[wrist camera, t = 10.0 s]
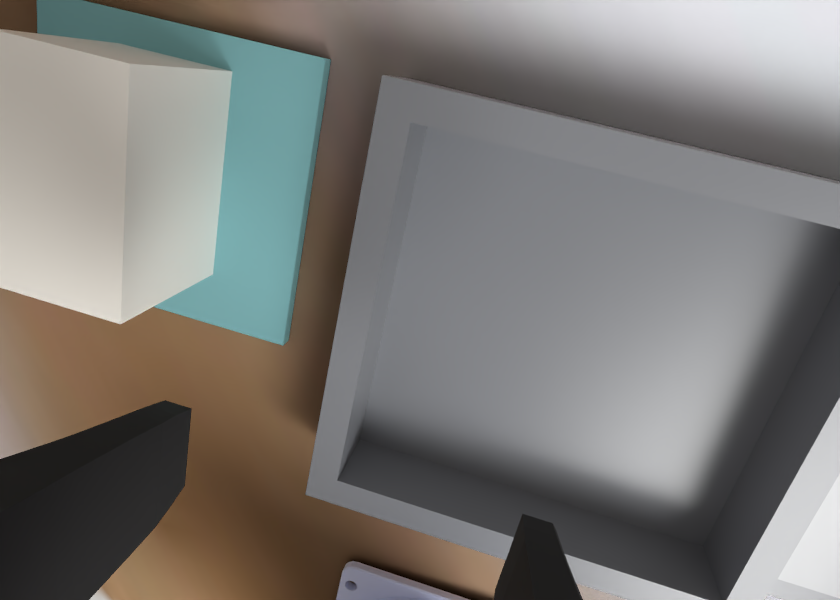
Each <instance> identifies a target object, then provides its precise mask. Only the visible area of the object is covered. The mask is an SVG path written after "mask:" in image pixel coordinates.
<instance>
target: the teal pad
mask: <svg viewBox="0 0 840 600" xmlns="http://www.w3.org/2000/svg"><path fill="white" fill-rule="evenodd" d="M37 33H38V34H46V35H55V36H63V37H71V38H79V39H88V40H96V41H104V42H113V43H120V44H124V45H128V46H132V47H136V48H140V49H144V50H148V51H152V52H156V53H160V54H164V55H168V56H172V57H176V58H180V59H184V60H189V61H193V62H197V63H201V64H205V65H209V66H213V67H217V68H221V69H225V70H229V71H232V80H231V91H230V101H229V112H228V122H227V133H226V143H225V154H224V164H223V175H222V185H221V196H220V206H219V217H218V227H217V238H216V248H215V259H214V269H213V275H211V276H209V277H207V278H205V279H203V280H202V281H200V282H198V283H196V284H194V285H192V286H191V287H189V288H187V289H185V290H183V291H181V292H179V293H178V294H176V295H174V296H172V297H170V298H168V299H166V300H165V301H163V302H161V303H159V304H157V305H155V306H154V307H156V308H159V309H162V310H166V311H169V312H172V313H176V314H179V315H182V316H186V317H189V318H192V319H196V320H199V321H202V322H206V323H209V324H212V325H216V326H219V327H223V328H226V329H229V330H233V331H236V332H239V333H243V334H246V335H249V336H253V337H256V338H259V339H263V340H266V341H269V342H273V343H276V344H279V345H284V344H285V343H286V342H287V341H288V340H289V334H290V328H291V321H292V314H293V308H294V301H295V295H296V288H297V281H298V275H299V268H300V262H301V255H302V248H303V242H304V235H305V229H306V222H307V215H308V209H309V202H310V196H311V189H312V182H313V176H314V169H315V162H316V156H317V149H318V143H319V136H320V129H321V123H322V116H323V110H324V103H325V96H326V90H327V83H328V77H329V70H330V63H331V59H326V58H322V57H318V56H314V55H310V54H306V53H301V52H297V51H293V50H289V49H285V48H281V47H276V46H272V45H268V44H264V43H260V42H255V41H251V40H247V39H243V38H239V37H235V36H230V35H226V34H222V33H218V32H214V31H210V30H205V29H201V28H197V27H193V26H189V25H184V24H180V23H176V22H172V21H168V20H164V19H159V18H155V17H151V16H147V15H143V14H139V13H134V12H130V11H126V10H122V9H118V8H113V7H109V6H105V5H101V4H97V3H93V2H88V1H84V0H37Z"/></svg>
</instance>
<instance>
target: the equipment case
mask: <svg viewBox="0 0 840 600" xmlns="http://www.w3.org/2000/svg"><path fill="white" fill-rule="evenodd" d="M305 495H308V496H311V497H314V498H317V499H320V500H323V501H326V502H329V503H332V504H335V505H338V506H342V507H345V508H348V509H351V510H354V511H357V512H360V513H363V514H366V515H369V516H372V517H375V518H378V519H381V520H384V521H387V522H390V523H394V524H397V525H400V526H403V527H406V528H409V529H412V530H415V531H418V532H421V533H424V534H427V535H430V536H433V537H436V538H439V539H443V540H446V541H449V542H452V543H455V544H458V545H461V546H464V547H467V548H470V549H473V550H476V551H479V552H482V553H485V554H488V555H491V556H495V557H498V558H501V559H504V560H506V558H507V555H508V553H509V550H510V547H511V544H512V541H513V539H514V536H515V533H516V530H517V527H518V525H519V522H520V519H521V516H522V514H525V515H528V516H532V517H535V518H538V519H541V520H544V521H547V522H551V523H553V525H554V527H555V528H556V531H557V534H558V537H559V539H560V542H561V545H562V548H563V551H564V554H565V556H566V559H567V562H568V564H569V567H570V569H571V572H572V575H573V577H574V580H575V582H576V583H577V584H580V585H583V586H586V587H589V588H592V589H595V590H599V591H602V592H605V593H608V594H611V595H614V596H617V597H620V598H623V599H626V600H765V599H766V598H767V596H768V595H769V596H773V597H776V598H779V599H782V600H840V181H836V180H832V179H828V178H824V177H819V176H815V175H811V174H807V173H803V172H798V171H794V170H790V169H786V168H782V167H778V166H773V165H769V164H765V163H761V162H757V161H753V160H748V159H744V158H740V157H736V156H732V155H727V154H723V153H719V152H715V151H711V150H707V149H702V148H698V147H694V146H690V145H686V144H682V143H677V142H673V141H669V140H665V139H661V138H656V137H652V136H648V135H644V134H640V133H636V132H631V131H627V130H623V129H619V128H615V127H611V126H606V125H602V124H598V123H594V122H590V121H585V120H581V119H577V118H573V117H569V116H565V115H560V114H556V113H552V112H548V111H544V110H540V109H535V108H531V107H527V106H523V105H519V104H514V103H510V102H506V101H502V100H498V99H494V98H489V97H485V96H481V95H477V94H473V93H469V92H464V91H460V90H456V89H452V88H448V87H443V86H439V85H435V84H431V83H427V82H423V81H418V80H414V79H410V78H405V77H397V76H389V75H382V78H381V84H380V89H379V95H378V100H377V106H376V111H375V117H374V122H373V128H372V133H371V139H370V144H369V150H368V155H367V160H366V166H365V171H364V177H363V182H362V188H361V193H360V199H359V204H358V210H357V215H356V221H355V226H354V232H353V237H352V243H351V248H350V254H349V259H348V264H347V270H346V275H345V281H344V286H343V292H342V297H341V303H340V308H339V314H338V319H337V325H336V330H335V336H334V341H333V347H332V352H331V357H330V363H329V368H328V374H327V379H326V385H325V390H324V396H323V401H322V407H321V412H320V418H319V423H318V429H317V434H316V440H315V445H314V451H313V456H312V461H311V467H310V472H309V478H308V483H307V489H306V494H305Z"/></svg>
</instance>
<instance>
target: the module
mask: <svg viewBox="0 0 840 600" xmlns="http://www.w3.org/2000/svg"><path fill="white" fill-rule="evenodd" d="M231 80H232V71H229V70H225V69H221V68H217V67H213V66H209V65H205V64H201V63H197V62H193V61H189V60H184V59H180V58H176V57H172V56H168V55H164V54H160V53H156V52H152V51H148V50H144V49H140V48H136V47H132V46H128V45H124V44H120V43H113V42H104V41H96V40H88V39H79V38H71V37H63V36H55V35H46V34H38V33H30V32H21V31H13V30H5V29H0V288H3V289H6V290H10V291H13V292H16V293H20V294H23V295H26V296H29V297H33V298H36V299H39V300H42V301H46V302H49V303H52V304H56V305H59V306H62V307H65V308H69V309H72V310H75V311H79V312H82V313H85V314H88V315H92V316H95V317H98V318H101V319H105V320H108V321H111V322H115V323H118V324H122V323H124V322H126V321H128V320H130V319H131V318H133V317H135V316H137V315H139V314H141V313H142V312H144V311H146V310H148V309H150V308H152V307H154V306H155V305H157V304H159V303H161V302H163V301H165V300H166V299H168V298H170V297H172V296H174V295H176V294H178V293H179V292H181V291H183V290H185V289H187V288H189V287H191V286H192V285H194V284H196V283H198V282H200V281H202V280H203V279H205V278H207V277H209V276H211V275H213V269H214V259H215V248H216V238H217V227H218V217H219V206H220V196H221V185H222V175H223V164H224V154H225V143H226V133H227V122H228V112H229V101H230V91H231Z"/></svg>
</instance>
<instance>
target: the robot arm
mask: <svg viewBox="0 0 840 600" xmlns="http://www.w3.org/2000/svg"><path fill="white" fill-rule="evenodd" d="M190 419H191V408H188V407H185V406H181V405H178V404H175V403H172V402H169V401H166V400H165V401H162V402H159V403H156V404H153V405H150V406H148V407H145V408H142V409H139V410H137V411H134V412H132V413H129V414H126V415H124V416H121V417H119V418H116V419H113V420H111V421H108V422H105V423H103V424H100V425H98V426H95V427H92V428H90V429H87V430H84V431H82V432H79V433H76V434H74V435H71V436H68V437H65V438H63V439H60V440H57V441H54V442H51V443H48V444H45V445H42V446H39V447H36V448H33V449H30V450H27V451H24V452H21V453H18V454H15V455H12V456H9V457H6V458H2V459H0V600H89V599H90V598H91V597H92V596H93V595H94V594H95V593H96V592H97V591H98V590H99V588H100V587H101V586H102V585H103V584H104V583H105V582H106V581H107V580H108V579H109V578H110V576H111V575H112V574H113V573H114V572H115V571H116V570H117V569H118V568H119V567H120V566H121V564H122V563H123V562H124V561H125V560H126V559H127V558H128V557H129V556H130V555H131V554H132V552H133V551H134V550H135V549H136V548H137V547H138V546H139V545H140V544H141V542H142V541H143V540H144V539H145V538H146V537H147V536H148V535H149V534H150V532H151V531H152V530H153V529H154V528H155V527H156V525H157V524H158V523H159V521H160V520H161V519H162V517H163V516H164V515H165V513H166V512H167V510H168V509H169V508H170V506H171V505H172V503H173V502H174V500H175V499H176V497H177V496H178V495H179V493H180V492H181V490H182V489H183V487H184V486H185V476H186V465H187V453H188V442H189V431H190ZM350 581H353V582H355V583H356V584H355V583H352V582H350ZM336 600H469V599H466V598H464V597H461V596H458V595H455V594H452V593H449V592H446V591H443V590H440V589H437V588H434V587H431V586H428V585H425V584H422V583H419V582H416V581H413V580H410V579H407V578H404V577H401V576H398V575H395V574H392V573H389V572H386V571H383V570H380V569H377V568H374V567H371V566H368V565H365V564H363V563H360V562H355V561H351V562H348V563H347V564H346V565H345V567H344V569H343V571H342V575H341V580H340V584H339V588H338V593H337V597H336ZM494 600H583V599H582V597H581V594H580V592H579V590H578V587H577V585H576V582H575V580H574V577H573V575H572V572H571V569H570V567H569V564H568V562H567V559H566V556H565V554H564V551H563V548H562V545H561V542H560V539H559V537H558V534H557V531H556V528H555V527H554V525H553V523H551V522H547V521H544V520H541V519H538V518H535V517H532V516H528V515H525V514H522V516H521V519H520V522H519V525H518V527H517V530H516V533H515V536H514V539H513V541H512V544H511V547H510V550H509V553H508V555H507V558H506V561H505V564H504V567H503V569H502V572H501V575H500V578H499V581H498V583H497V586H496V589H495V595H494Z"/></svg>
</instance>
